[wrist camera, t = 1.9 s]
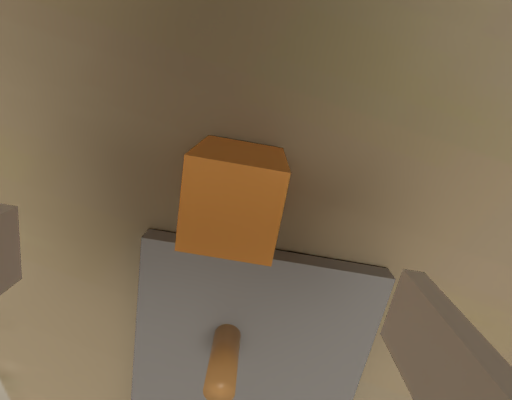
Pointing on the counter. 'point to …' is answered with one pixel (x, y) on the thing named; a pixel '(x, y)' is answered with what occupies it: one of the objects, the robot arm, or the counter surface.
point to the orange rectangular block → (232, 200)
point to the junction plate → (252, 325)
